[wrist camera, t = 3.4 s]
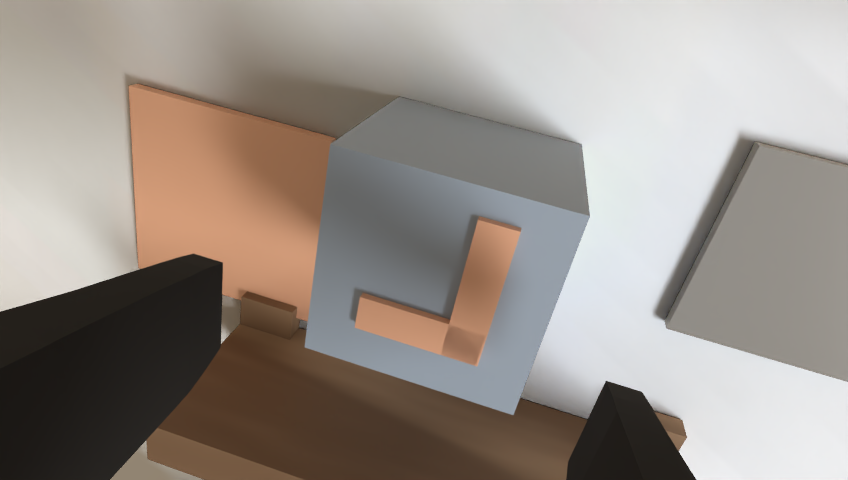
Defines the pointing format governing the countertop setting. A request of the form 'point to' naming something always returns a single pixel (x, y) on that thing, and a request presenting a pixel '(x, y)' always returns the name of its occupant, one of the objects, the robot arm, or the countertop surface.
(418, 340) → the lettered cube
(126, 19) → the countertop surface
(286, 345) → the walnut screen
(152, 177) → the terracotta tile
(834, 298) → the grey slate tile
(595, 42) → the countertop surface
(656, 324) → the countertop surface
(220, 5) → the countertop surface
